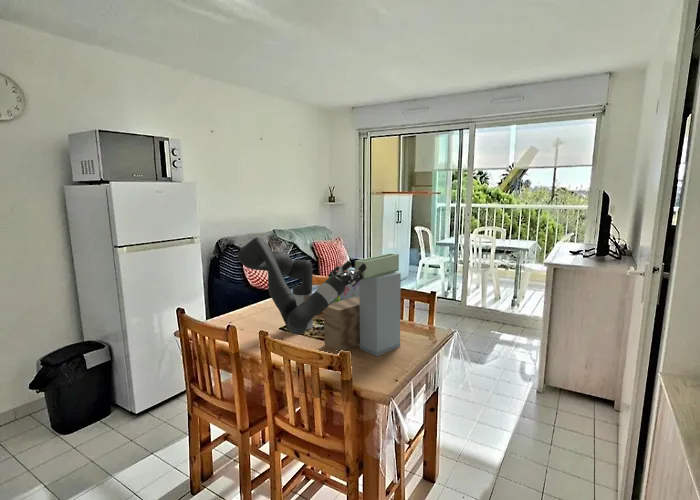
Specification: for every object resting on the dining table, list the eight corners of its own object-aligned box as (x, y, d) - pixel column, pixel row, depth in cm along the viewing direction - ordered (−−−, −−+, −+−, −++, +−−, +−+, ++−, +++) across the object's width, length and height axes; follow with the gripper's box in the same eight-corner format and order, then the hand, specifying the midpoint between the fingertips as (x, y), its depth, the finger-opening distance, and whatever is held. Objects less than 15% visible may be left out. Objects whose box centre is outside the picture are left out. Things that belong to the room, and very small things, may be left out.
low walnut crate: (339, 352, 158) (338, 310, 155) (324, 345, 166) (323, 305, 163) (378, 337, 173) (378, 299, 170) (363, 331, 181) (363, 294, 178)
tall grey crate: (376, 356, 154) (376, 278, 149) (359, 348, 162) (358, 274, 156) (400, 346, 163) (401, 273, 158) (383, 339, 171) (383, 269, 166)
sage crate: (363, 280, 147) (363, 262, 146) (355, 278, 150) (354, 260, 149) (398, 270, 163) (398, 254, 162) (390, 269, 166) (390, 253, 165)
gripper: (322, 294, 148) (349, 268, 155) (346, 302, 137) (374, 274, 145) (313, 280, 144) (341, 254, 152) (337, 287, 133) (366, 258, 141)
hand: (357, 263), depth 148 cm, fingers open, 8 cm apart
